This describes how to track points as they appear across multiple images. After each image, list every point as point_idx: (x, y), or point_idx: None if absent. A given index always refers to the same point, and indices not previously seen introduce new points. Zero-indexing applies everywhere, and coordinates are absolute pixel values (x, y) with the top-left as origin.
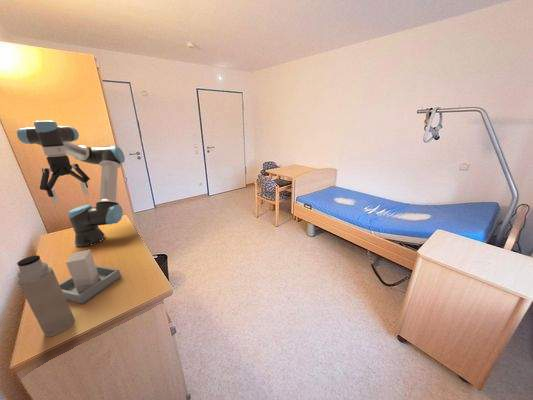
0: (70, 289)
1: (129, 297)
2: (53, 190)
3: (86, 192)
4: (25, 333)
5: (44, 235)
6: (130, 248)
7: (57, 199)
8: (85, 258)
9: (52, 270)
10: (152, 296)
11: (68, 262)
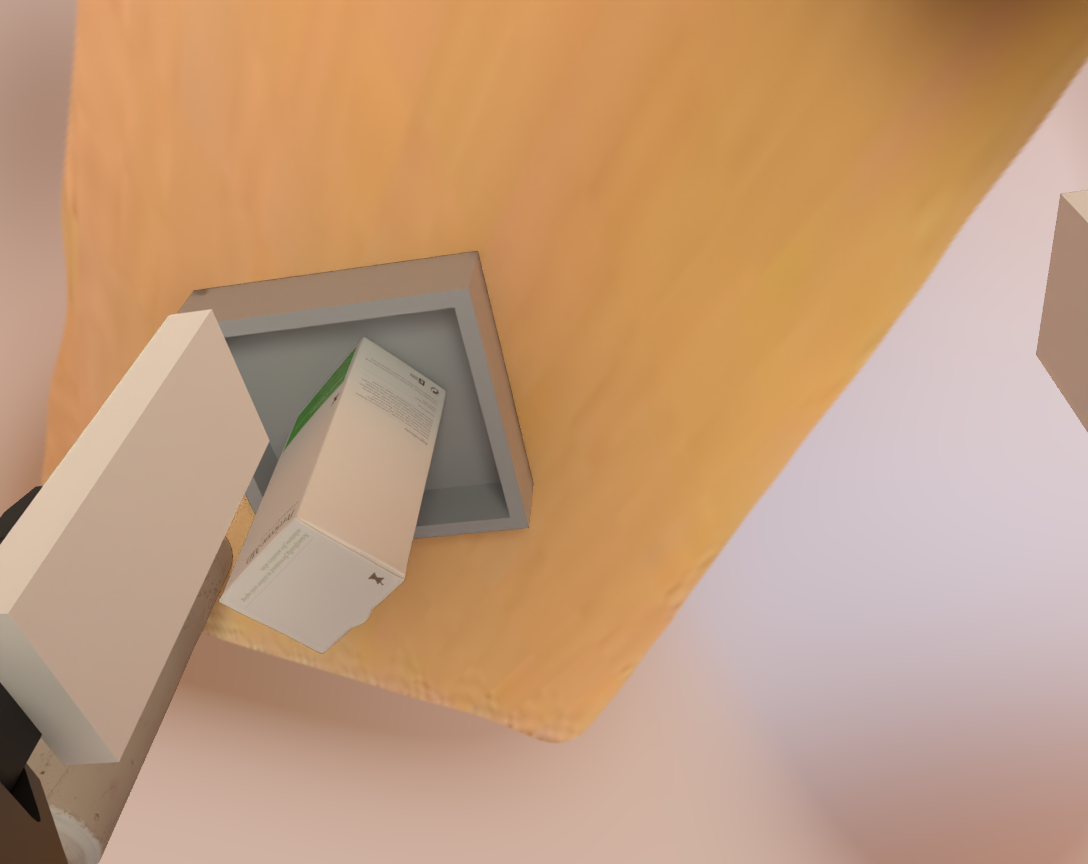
0: (277, 331)
1: (450, 646)
2: (101, 739)
3: (1068, 384)
4: (53, 456)
5: None
6: (887, 159)
7: (228, 503)
8: (333, 642)
9: (103, 850)
10: (508, 717)
11: (233, 607)
